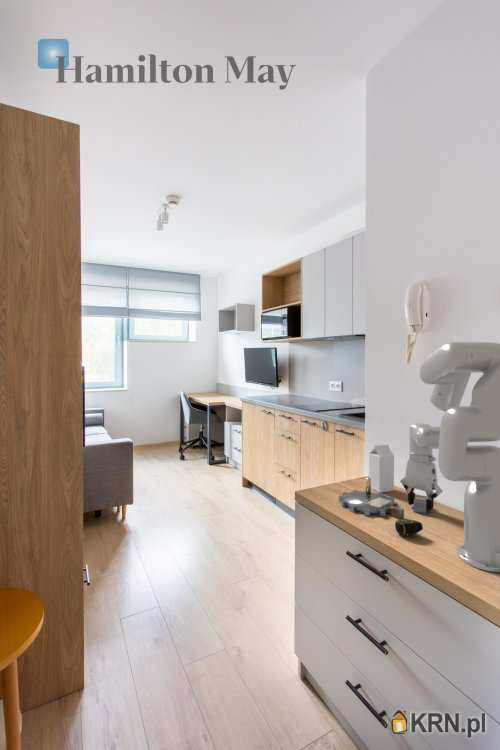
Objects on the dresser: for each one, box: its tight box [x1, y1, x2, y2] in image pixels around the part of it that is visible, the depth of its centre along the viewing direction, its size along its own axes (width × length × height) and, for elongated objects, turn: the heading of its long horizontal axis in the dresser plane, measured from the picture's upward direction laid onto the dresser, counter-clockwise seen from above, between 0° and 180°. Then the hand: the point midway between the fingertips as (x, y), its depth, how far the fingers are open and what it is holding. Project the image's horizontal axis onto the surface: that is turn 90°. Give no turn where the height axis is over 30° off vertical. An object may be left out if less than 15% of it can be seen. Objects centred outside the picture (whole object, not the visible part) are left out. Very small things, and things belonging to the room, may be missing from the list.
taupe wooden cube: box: [391, 506, 405, 520], centre depth 124 cm, size 3×2×3 cm
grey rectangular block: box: [412, 494, 428, 515], centre depth 131 cm, size 4×8×4 cm, turn 151°
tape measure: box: [394, 518, 424, 536], centre depth 111 cm, size 7×7×4 cm
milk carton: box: [368, 443, 395, 493], centre depth 152 cm, size 7×7×19 cm
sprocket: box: [338, 476, 399, 517], centre depth 134 cm, size 21×21×8 cm
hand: (420, 506), depth 131 cm, fingers open, 6 cm apart
